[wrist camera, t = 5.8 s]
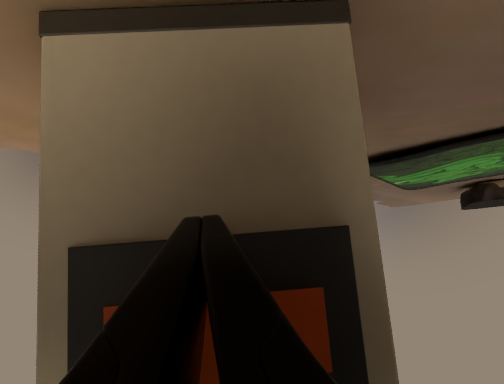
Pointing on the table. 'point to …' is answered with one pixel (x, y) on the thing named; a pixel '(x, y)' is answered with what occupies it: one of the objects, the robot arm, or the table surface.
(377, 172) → the mouse mat
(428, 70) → the table surface
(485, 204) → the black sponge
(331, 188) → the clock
